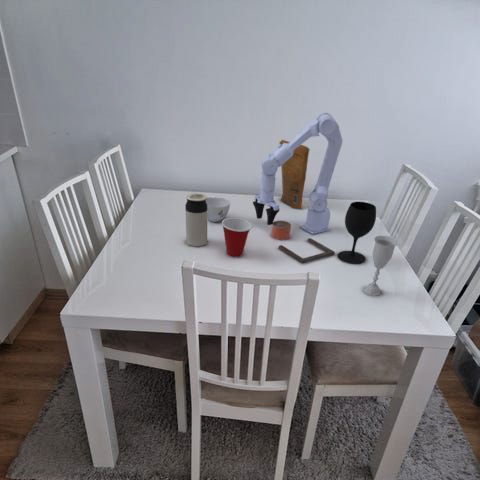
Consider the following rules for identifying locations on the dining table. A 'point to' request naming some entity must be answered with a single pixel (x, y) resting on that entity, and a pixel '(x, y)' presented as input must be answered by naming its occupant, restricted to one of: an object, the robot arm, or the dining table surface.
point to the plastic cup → (235, 235)
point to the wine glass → (358, 228)
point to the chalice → (380, 259)
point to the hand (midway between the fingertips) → (264, 221)
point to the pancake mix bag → (294, 176)
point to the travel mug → (196, 219)
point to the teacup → (217, 208)
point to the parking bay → (304, 260)
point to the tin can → (281, 230)
